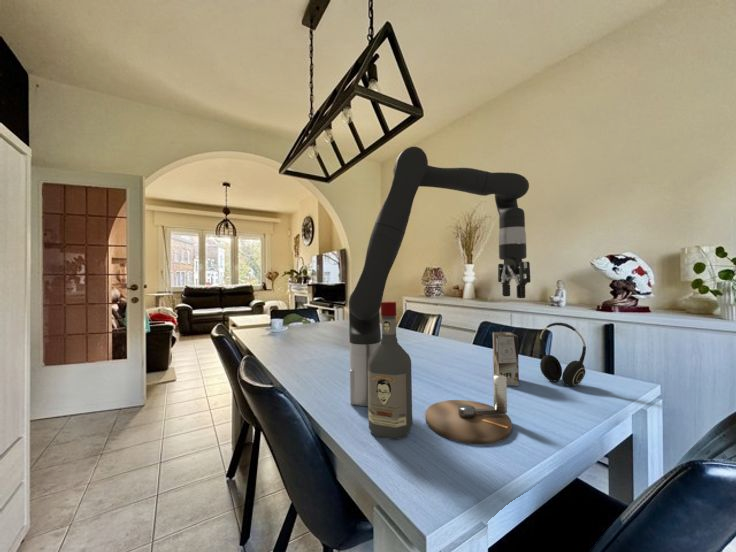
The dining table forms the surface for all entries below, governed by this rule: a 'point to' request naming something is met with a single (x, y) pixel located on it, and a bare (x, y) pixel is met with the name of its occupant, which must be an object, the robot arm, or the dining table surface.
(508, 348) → the coffee box
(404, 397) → the liquor
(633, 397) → the dining table surface
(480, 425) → the round wooden board
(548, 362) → the headphones
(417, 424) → the dining table surface
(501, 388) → the silver bent piece
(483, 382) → the dining table surface
